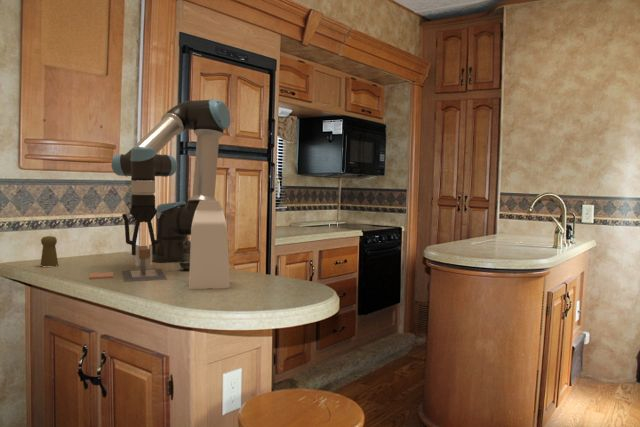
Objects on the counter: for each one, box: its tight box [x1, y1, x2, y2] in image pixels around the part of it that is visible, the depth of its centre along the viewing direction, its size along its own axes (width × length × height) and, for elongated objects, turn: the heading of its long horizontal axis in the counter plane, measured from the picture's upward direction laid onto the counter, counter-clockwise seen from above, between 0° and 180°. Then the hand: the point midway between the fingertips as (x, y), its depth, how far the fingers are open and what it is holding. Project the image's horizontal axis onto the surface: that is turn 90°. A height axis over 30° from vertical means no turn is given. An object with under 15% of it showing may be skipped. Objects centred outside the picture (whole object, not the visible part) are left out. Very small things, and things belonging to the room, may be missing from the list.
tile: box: [89, 271, 114, 280], centre depth 178 cm, size 7×2×8 cm
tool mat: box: [121, 268, 169, 283], centre depth 182 cm, size 13×22×1 cm, turn 22°
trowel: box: [130, 245, 158, 279], centre depth 182 cm, size 15×8×9 cm, turn 22°
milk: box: [188, 200, 231, 290], centre depth 168 cm, size 12×12×26 cm
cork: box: [40, 235, 59, 267], centre depth 201 cm, size 6×6×11 cm
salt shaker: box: [178, 237, 191, 271], centre depth 192 cm, size 6×6×12 cm
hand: (143, 264), depth 181 cm, fingers open, 4 cm apart
